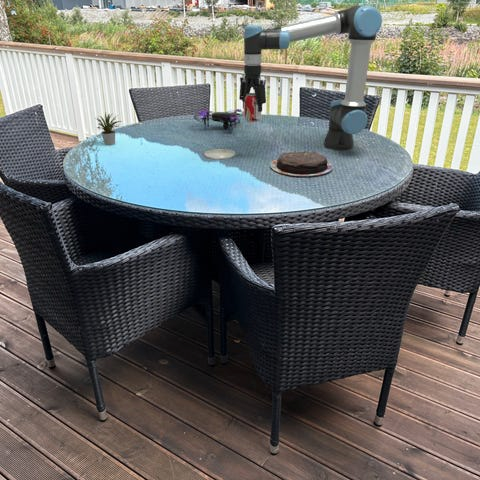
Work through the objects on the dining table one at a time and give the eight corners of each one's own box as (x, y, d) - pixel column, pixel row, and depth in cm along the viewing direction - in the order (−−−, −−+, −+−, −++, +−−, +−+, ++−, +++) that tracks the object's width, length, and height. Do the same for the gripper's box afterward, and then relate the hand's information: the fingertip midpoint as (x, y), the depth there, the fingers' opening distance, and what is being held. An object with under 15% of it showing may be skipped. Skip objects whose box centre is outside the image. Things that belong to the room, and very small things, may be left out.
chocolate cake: (259, 163, 213) (259, 149, 210) (311, 156, 223) (312, 142, 220) (288, 182, 190) (289, 167, 187) (345, 173, 200) (346, 159, 197)
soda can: (249, 123, 207) (249, 95, 202) (241, 120, 213) (241, 93, 207) (262, 121, 210) (263, 94, 205) (255, 118, 216) (255, 92, 210)
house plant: (106, 150, 230) (101, 117, 223) (89, 145, 238) (84, 113, 230) (128, 143, 240) (124, 112, 233) (111, 139, 248) (107, 108, 240)
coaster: (241, 154, 223) (241, 153, 223) (218, 161, 214) (218, 159, 214) (220, 148, 233) (220, 147, 232) (197, 154, 223) (197, 153, 223)
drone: (237, 121, 245) (186, 119, 248) (237, 139, 249) (187, 137, 253) (246, 106, 280) (201, 105, 283) (246, 122, 285) (201, 120, 288)
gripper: (230, 63, 204) (231, 115, 215) (263, 67, 192) (262, 122, 202) (242, 61, 209) (242, 113, 219) (275, 65, 196) (274, 119, 207)
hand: (252, 117), depth 211 cm, fingers closed on soda can, 7 cm apart
